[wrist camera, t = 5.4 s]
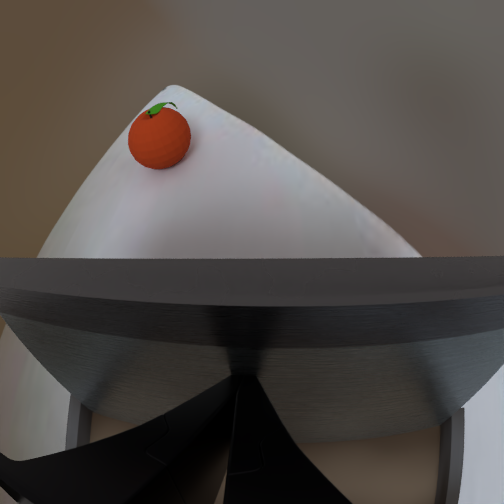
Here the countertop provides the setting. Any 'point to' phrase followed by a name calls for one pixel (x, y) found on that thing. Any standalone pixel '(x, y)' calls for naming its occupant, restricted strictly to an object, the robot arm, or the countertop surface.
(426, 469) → the tray
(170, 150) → the clementine
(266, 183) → the countertop surface
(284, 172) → the countertop surface
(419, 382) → the panel
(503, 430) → the countertop surface
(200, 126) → the countertop surface
